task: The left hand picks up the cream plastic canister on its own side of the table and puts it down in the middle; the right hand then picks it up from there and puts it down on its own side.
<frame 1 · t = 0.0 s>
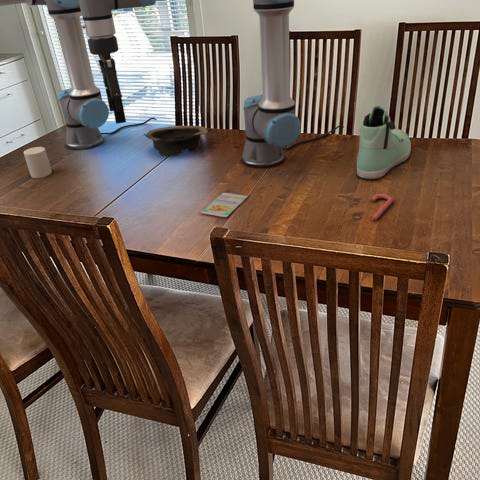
right hand: (117, 116, 137), 28 cm above the table, tool pointing down, fingers open, 13 cm apart
sneaker: (383, 161, 166), on the table
canister: (41, 173, 178), on the table
stone bowl: (178, 149, 191), on the table
candy cane: (378, 209, 137), on the table
baking ingredient package: (224, 205, 146), on the table
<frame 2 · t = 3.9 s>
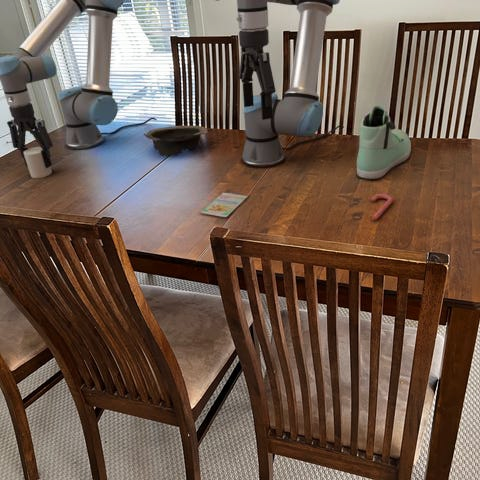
left hand: (39, 166, 177), 3 cm above the table, tool pointing down, fingers closed on canister, 7 cm apart
right hand: (257, 112, 132), 28 cm above the table, tool pointing down, fingers open, 13 cm apart
canister: (41, 173, 178), on the table, touching left hand
everything else where it was.
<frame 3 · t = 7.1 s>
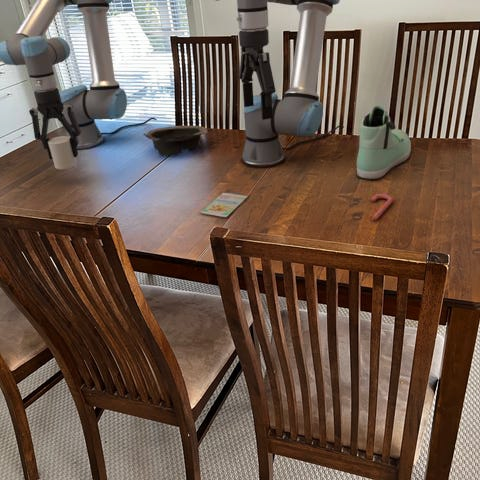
left hand: (64, 156, 165), 10 cm above the table, tool pointing down, fingers closed on canister, 7 cm apart
right hand: (257, 112, 132), 28 cm above the table, tool pointing down, fingers open, 13 cm apart
canister: (66, 165, 166), point 6 cm above the table, touching left hand
everything else where it was.
when the left hand's fingers open (4 cm above the table, at t = 10.3 s): canister drops 1 cm, on the table.
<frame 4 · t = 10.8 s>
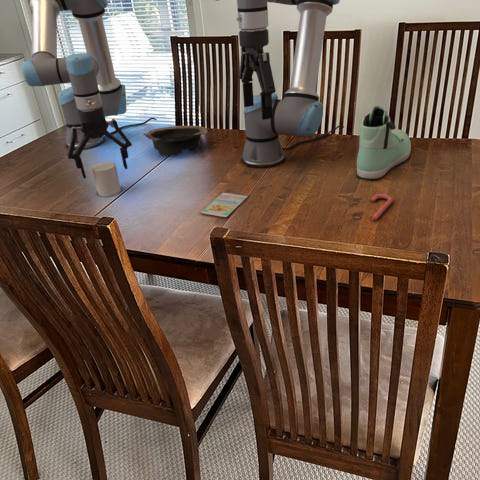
left hand: (105, 172, 157), 7 cm above the table, tool pointing down, fingers open, 13 cm apart
right hand: (257, 112, 132), 28 cm above the table, tool pointing down, fingers open, 13 cm apart
canister: (109, 191, 161), on the table
everything else where it was.
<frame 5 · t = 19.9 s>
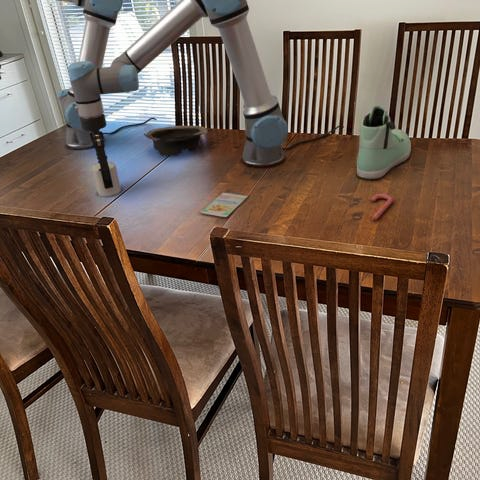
right hand: (107, 182, 159), 3 cm above the table, tool pointing down, fingers closed on canister, 7 cm apart
canister: (109, 191, 161), on the table, touching right hand
everything else where it was.
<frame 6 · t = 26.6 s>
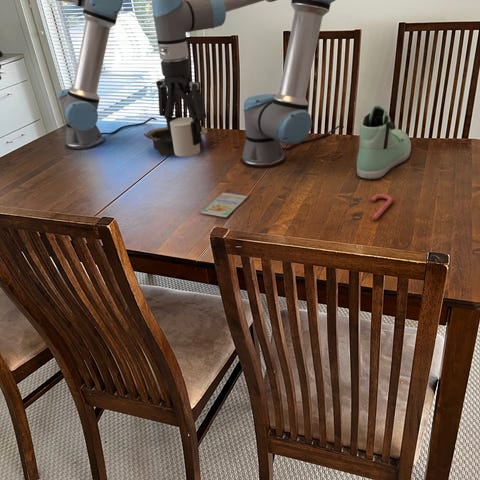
right hand: (186, 141, 139), 20 cm above the table, tool pointing down, fingers closed on canister, 7 cm apart
canister: (187, 151, 140), point 17 cm above the table, touching right hand
everything else where it was.
when the right hand's fingers open (4 cm above the table, at t = 33.4 s): canister drops 1 cm, on the table.
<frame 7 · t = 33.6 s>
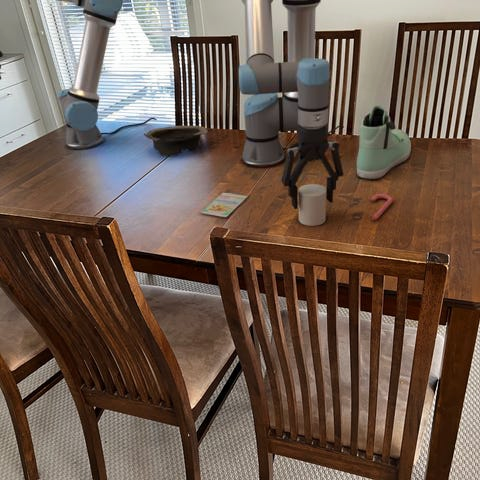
right hand: (312, 203, 133), 5 cm above the table, tool pointing down, fingers open, 9 cm apart
canister: (312, 219, 135), on the table
everything else where it was.
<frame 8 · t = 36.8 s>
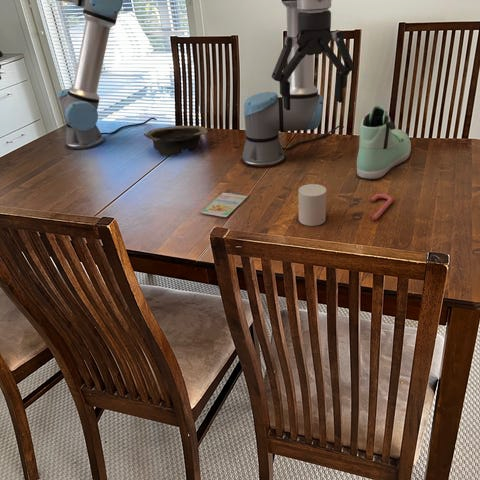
right hand: (313, 105, 118), 32 cm above the table, tool pointing down, fingers open, 13 cm apart
nothing on the table moved.
at the end: canister inside the target area (0.0 cm from its centre), on the table; canister tilted 0°; the two hands never held the canister at the same time; the left hand is holding nothing; the right hand is holding nothing; canister at rest at the end (0.0 cm/s) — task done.
